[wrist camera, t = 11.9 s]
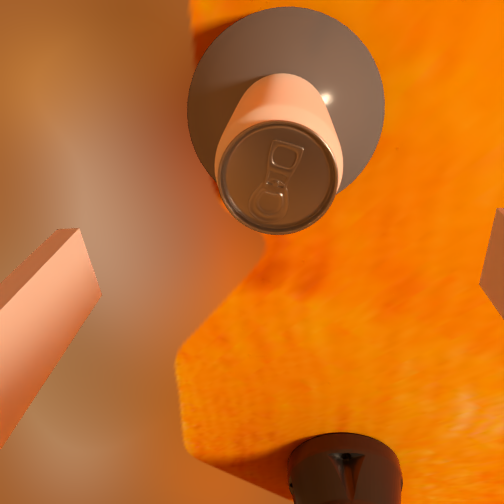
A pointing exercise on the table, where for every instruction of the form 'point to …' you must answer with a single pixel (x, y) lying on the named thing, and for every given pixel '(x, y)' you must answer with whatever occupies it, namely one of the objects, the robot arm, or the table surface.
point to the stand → (296, 63)
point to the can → (279, 157)
